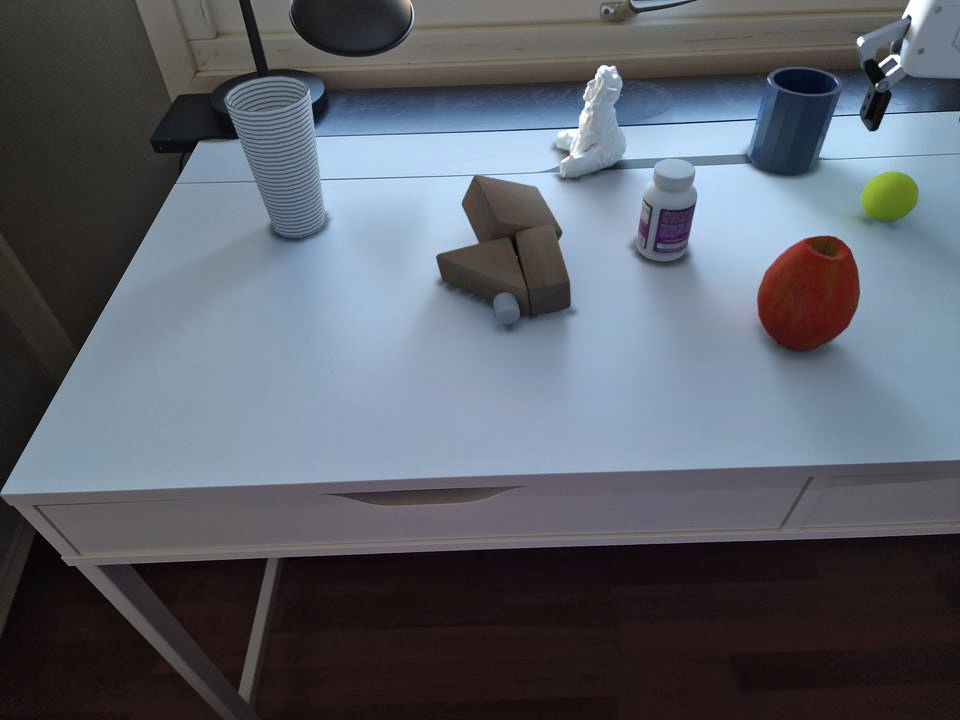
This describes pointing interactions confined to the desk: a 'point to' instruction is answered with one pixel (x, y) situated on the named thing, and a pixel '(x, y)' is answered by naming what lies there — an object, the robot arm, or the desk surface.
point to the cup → (280, 150)
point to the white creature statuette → (595, 128)
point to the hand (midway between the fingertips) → (917, 126)
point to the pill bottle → (667, 211)
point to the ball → (889, 196)
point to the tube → (793, 120)
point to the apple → (809, 293)
